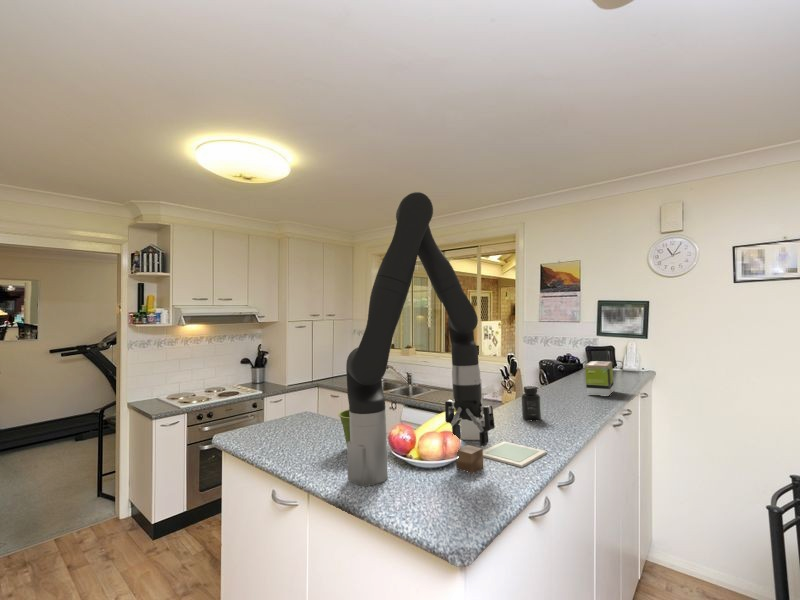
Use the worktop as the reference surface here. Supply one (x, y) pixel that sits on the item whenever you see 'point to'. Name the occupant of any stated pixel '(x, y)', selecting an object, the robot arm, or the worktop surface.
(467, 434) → the milk carton
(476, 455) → the walnut block
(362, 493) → the worktop surface
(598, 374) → the tea box
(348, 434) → the plant pot
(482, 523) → the worktop surface
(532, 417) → the supplement bottle
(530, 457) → the coaster
